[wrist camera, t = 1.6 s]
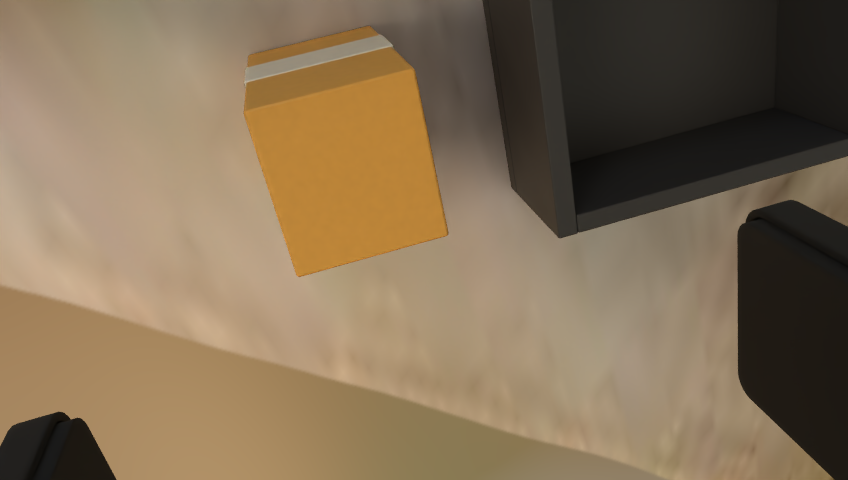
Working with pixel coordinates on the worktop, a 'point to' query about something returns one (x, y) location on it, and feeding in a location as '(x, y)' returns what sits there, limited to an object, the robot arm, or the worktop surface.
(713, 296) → the worktop surface
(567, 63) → the basket
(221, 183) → the worktop surface
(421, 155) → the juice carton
